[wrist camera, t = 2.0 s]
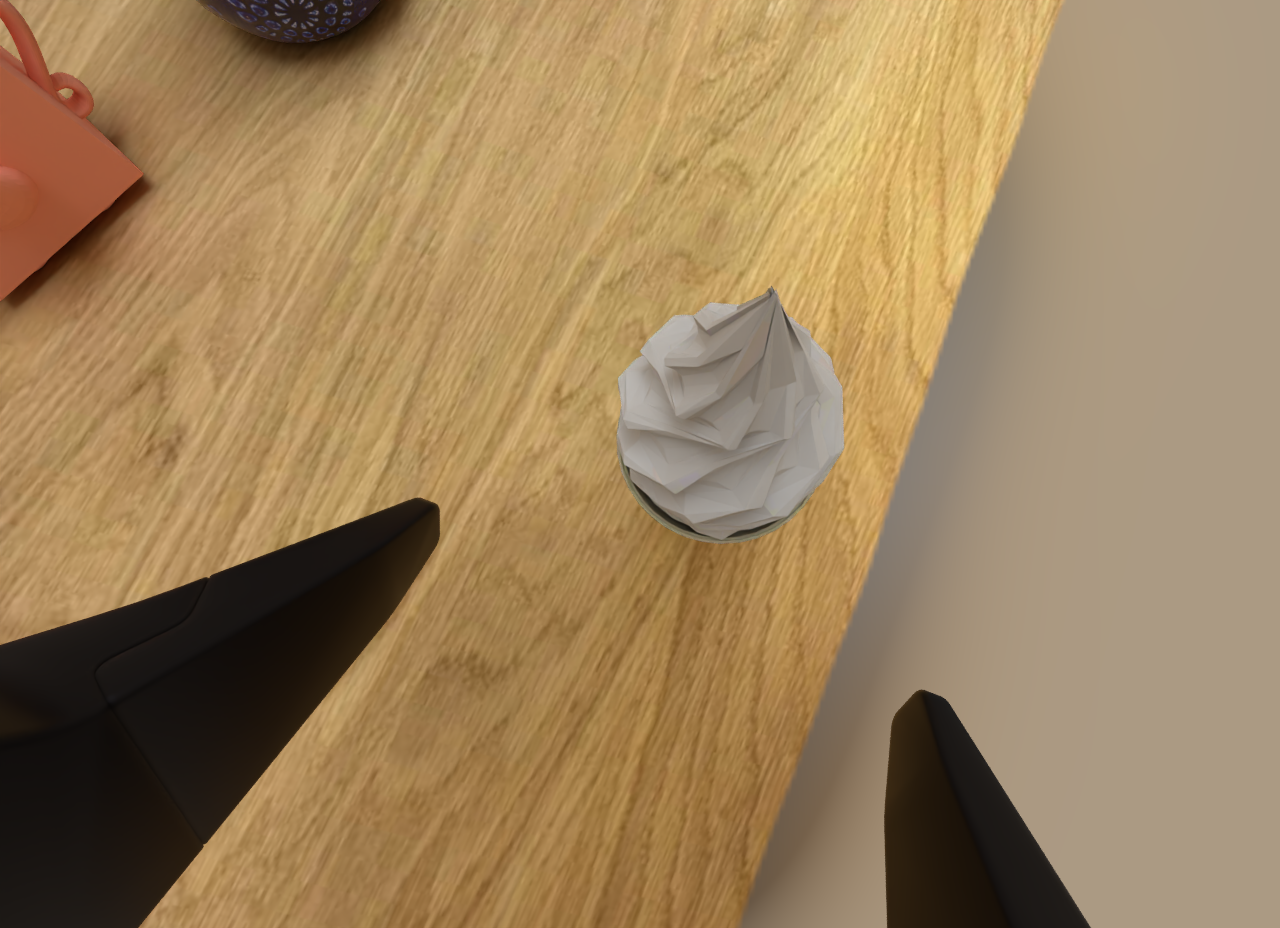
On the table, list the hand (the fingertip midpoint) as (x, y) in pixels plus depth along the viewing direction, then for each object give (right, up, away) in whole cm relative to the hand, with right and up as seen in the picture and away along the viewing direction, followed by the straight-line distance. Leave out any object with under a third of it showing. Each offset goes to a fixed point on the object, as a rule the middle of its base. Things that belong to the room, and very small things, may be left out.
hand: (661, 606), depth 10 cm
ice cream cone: (+2, +2, +11) cm, 12 cm away
